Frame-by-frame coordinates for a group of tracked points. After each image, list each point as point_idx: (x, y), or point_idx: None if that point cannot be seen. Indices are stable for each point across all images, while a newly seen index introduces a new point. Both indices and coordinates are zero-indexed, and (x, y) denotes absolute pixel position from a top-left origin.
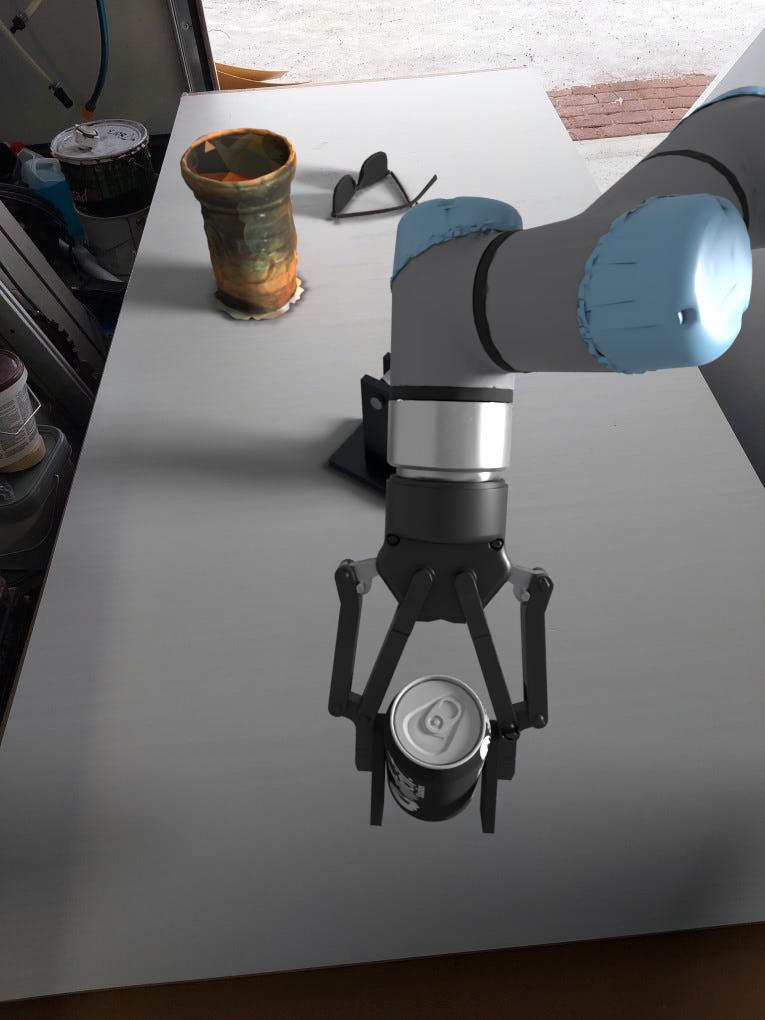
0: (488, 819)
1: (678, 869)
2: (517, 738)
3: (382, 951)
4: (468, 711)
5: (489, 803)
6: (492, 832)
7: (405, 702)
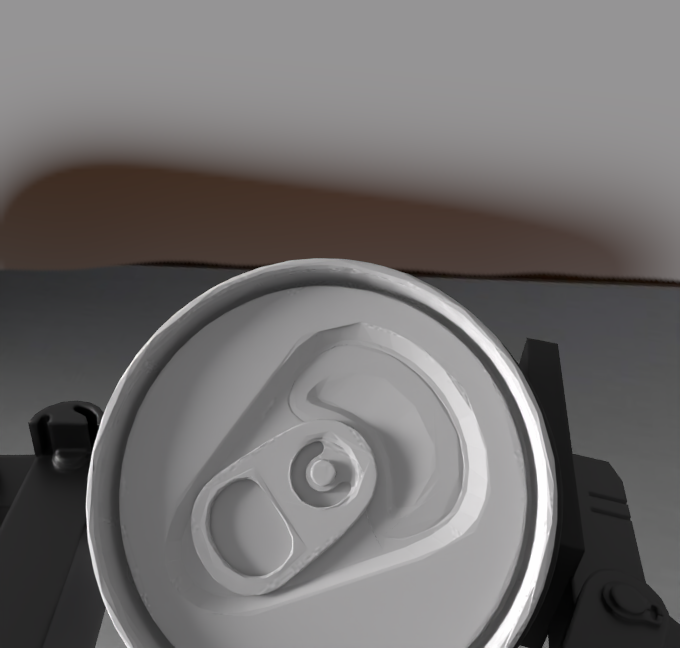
0: None
1: (26, 332)
2: (54, 407)
3: (492, 290)
4: (162, 498)
5: None
6: None
7: (459, 610)
